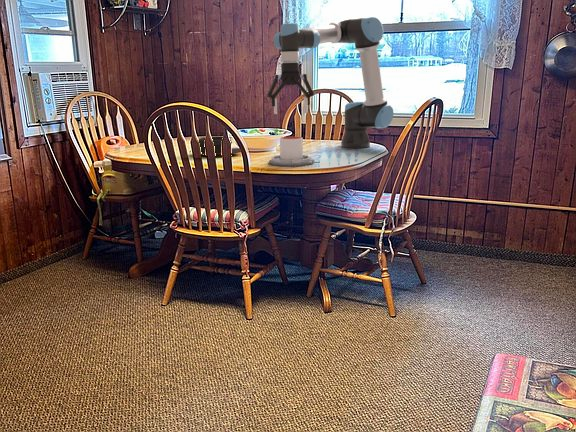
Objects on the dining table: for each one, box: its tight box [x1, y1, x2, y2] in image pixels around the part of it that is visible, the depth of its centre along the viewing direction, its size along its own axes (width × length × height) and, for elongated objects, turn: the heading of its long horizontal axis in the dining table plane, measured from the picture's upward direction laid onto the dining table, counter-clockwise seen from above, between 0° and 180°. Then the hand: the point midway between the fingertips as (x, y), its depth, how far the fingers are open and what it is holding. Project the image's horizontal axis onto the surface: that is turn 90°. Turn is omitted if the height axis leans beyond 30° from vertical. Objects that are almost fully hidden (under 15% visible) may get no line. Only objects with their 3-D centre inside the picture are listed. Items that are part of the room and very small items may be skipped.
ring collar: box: [268, 154, 315, 168], centre depth 242 cm, size 20×20×2 cm
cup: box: [279, 136, 304, 160], centre depth 241 cm, size 10×10×10 cm
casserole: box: [189, 136, 241, 157], centre depth 267 cm, size 25×19×8 cm
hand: (290, 113), depth 237 cm, fingers open, 13 cm apart
